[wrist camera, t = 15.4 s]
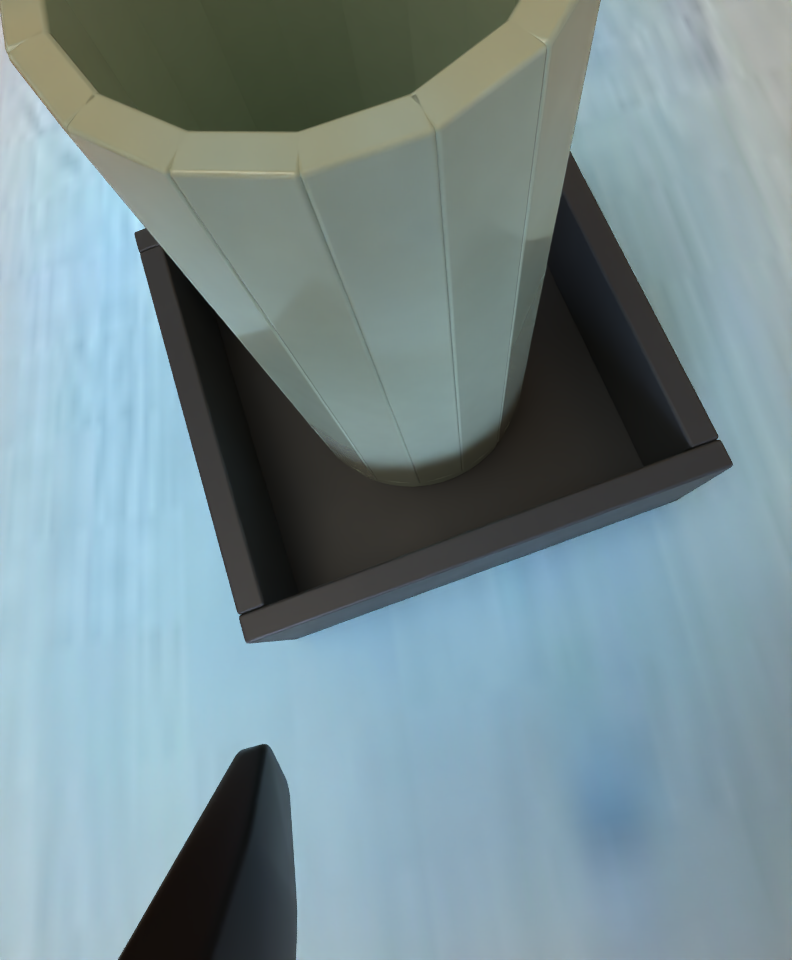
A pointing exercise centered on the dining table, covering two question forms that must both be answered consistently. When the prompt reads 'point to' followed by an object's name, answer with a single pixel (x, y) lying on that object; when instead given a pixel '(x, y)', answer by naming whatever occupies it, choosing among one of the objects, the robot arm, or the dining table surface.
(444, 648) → the dining table surface
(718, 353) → the dining table surface
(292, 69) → the tumbler
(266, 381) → the tub
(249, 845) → the robot arm
